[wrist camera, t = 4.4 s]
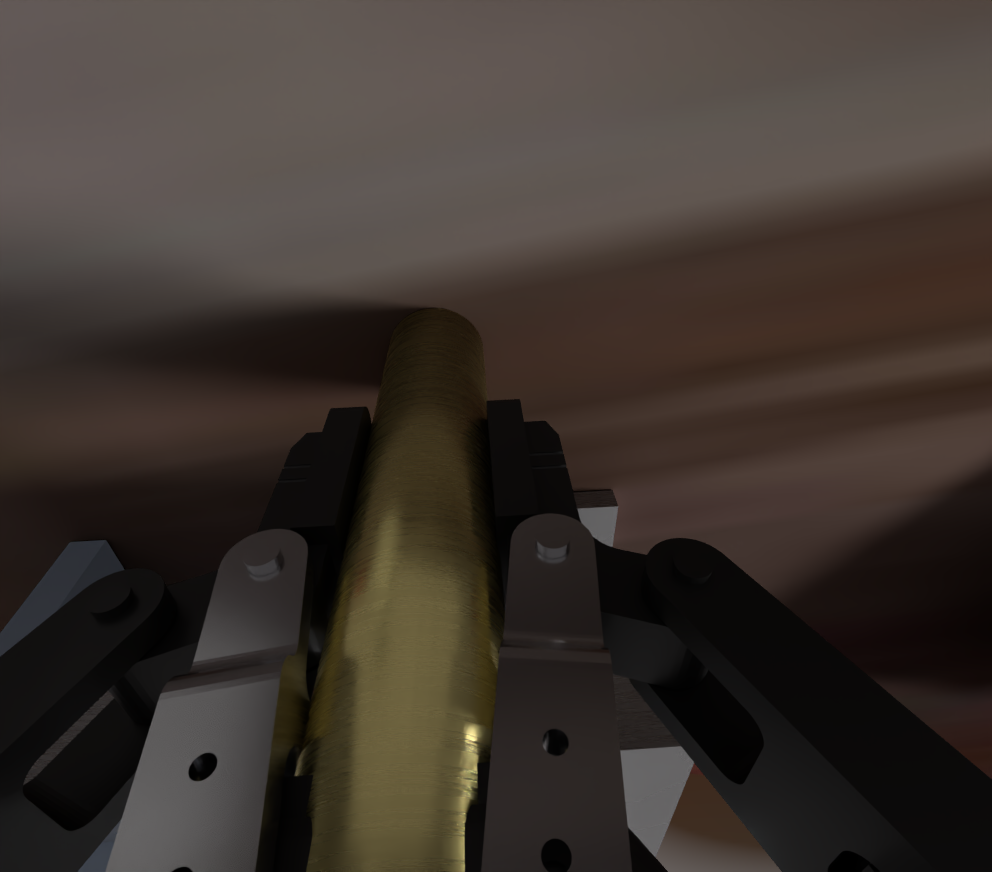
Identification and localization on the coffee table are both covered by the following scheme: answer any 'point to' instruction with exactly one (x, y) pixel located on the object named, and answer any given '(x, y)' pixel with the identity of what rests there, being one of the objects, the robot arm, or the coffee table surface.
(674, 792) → the grey piece
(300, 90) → the coffee table surface
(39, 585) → the bracket
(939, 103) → the coffee table surface
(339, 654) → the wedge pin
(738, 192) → the coffee table surface
